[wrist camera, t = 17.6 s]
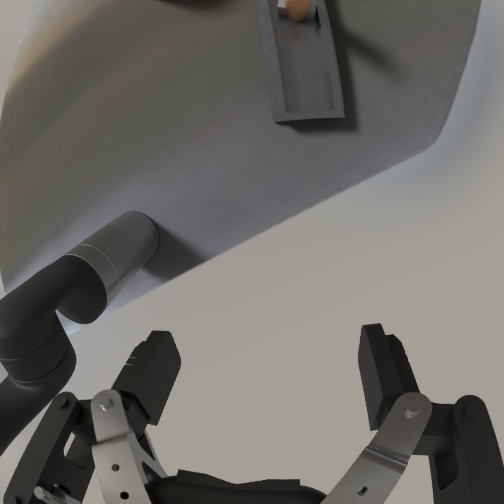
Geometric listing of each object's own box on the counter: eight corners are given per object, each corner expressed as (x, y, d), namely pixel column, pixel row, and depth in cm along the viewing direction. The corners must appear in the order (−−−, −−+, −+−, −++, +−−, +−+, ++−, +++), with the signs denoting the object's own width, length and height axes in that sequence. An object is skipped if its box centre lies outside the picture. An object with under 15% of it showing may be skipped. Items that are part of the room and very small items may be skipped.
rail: (274, 122, 37) (273, 121, 34) (251, -16, 27) (248, -26, 24) (343, 117, 36) (348, 117, 32) (317, -20, 26) (319, -30, 23)
